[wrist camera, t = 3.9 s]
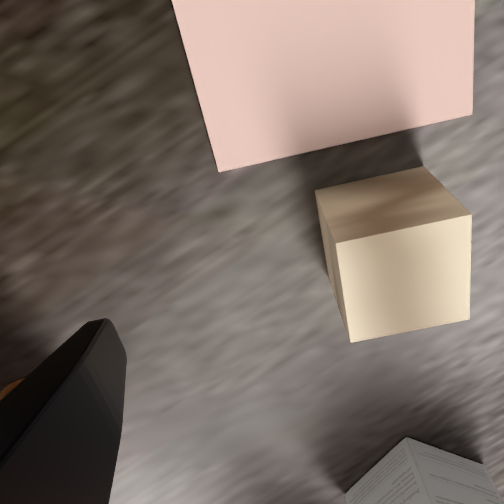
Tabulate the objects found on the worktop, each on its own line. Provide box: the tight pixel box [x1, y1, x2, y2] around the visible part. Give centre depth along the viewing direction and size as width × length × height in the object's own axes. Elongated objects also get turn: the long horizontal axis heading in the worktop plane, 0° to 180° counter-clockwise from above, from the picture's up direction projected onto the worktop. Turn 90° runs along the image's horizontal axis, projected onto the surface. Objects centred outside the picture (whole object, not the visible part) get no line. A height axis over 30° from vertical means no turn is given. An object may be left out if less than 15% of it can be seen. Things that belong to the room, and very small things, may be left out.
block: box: [314, 166, 472, 343], centre depth 21 cm, size 5×5×5 cm
